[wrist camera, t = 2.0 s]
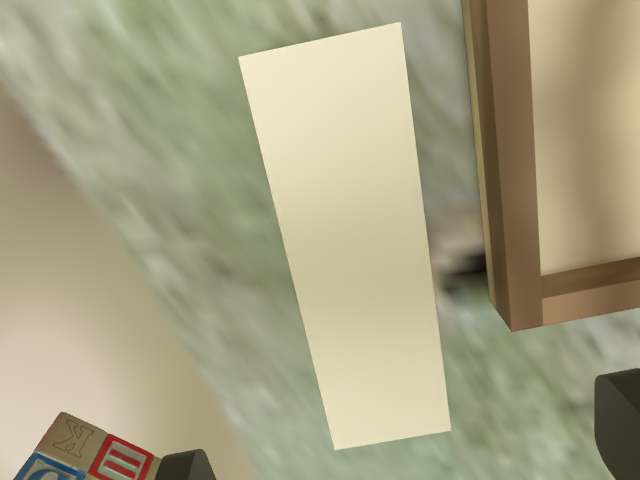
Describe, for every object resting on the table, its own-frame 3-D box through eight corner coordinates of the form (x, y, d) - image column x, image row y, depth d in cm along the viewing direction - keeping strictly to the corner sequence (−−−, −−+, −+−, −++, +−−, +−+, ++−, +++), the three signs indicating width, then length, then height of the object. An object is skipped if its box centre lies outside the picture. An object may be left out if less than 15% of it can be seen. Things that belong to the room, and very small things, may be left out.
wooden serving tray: (754, -334, 17) (843, -411, 14) (700, 259, 25) (749, 286, 22) (437, -249, 17) (462, -307, 14) (489, 301, 26) (511, 332, 23)
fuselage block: (372, 29, 21) (400, 21, 14) (416, 337, 27) (451, 430, 20) (259, 54, 21) (238, 57, 15) (328, 353, 27) (334, 450, 20)
